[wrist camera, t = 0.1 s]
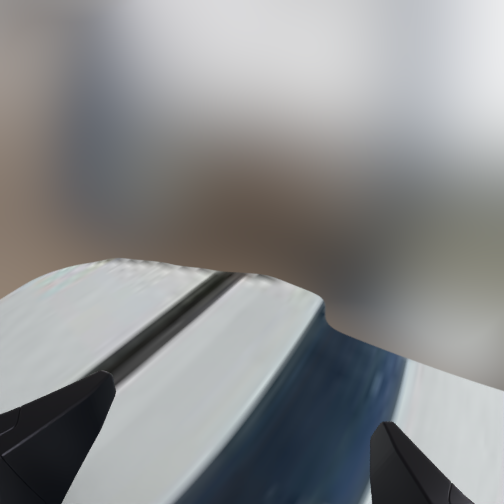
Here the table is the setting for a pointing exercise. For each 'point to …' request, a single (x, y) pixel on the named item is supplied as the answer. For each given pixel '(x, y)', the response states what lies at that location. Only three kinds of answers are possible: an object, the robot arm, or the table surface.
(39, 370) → the table surface
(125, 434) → the table surface
